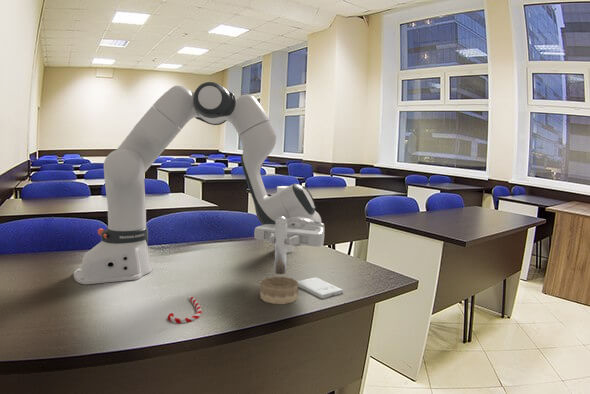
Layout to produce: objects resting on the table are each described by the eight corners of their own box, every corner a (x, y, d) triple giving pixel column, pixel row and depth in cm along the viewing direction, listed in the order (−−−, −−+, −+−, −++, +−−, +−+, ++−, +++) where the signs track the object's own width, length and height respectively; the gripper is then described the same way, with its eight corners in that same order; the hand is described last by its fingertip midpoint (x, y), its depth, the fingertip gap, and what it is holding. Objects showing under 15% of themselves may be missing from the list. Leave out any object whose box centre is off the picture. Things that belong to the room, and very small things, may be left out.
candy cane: (204, 295, 113) (199, 319, 98) (204, 300, 113) (199, 324, 98) (174, 296, 112) (165, 320, 97) (174, 300, 112) (165, 325, 97)
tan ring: (273, 306, 109) (273, 292, 108) (253, 294, 117) (254, 280, 117) (304, 299, 115) (305, 285, 114) (284, 287, 123) (284, 274, 123)
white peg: (278, 274, 113) (279, 218, 111) (272, 271, 116) (273, 216, 113) (288, 272, 115) (289, 217, 113) (281, 269, 117) (283, 215, 115)
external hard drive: (316, 281, 131) (343, 294, 121) (295, 286, 126) (321, 300, 116) (316, 276, 130) (343, 288, 120) (295, 281, 125) (322, 294, 116)
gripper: (264, 217, 129) (245, 225, 116) (329, 223, 122) (316, 233, 109) (264, 237, 130) (244, 248, 117) (328, 244, 123) (315, 256, 110)
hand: (279, 241), depth 113 cm, fingers closed on white peg, 3 cm apart
